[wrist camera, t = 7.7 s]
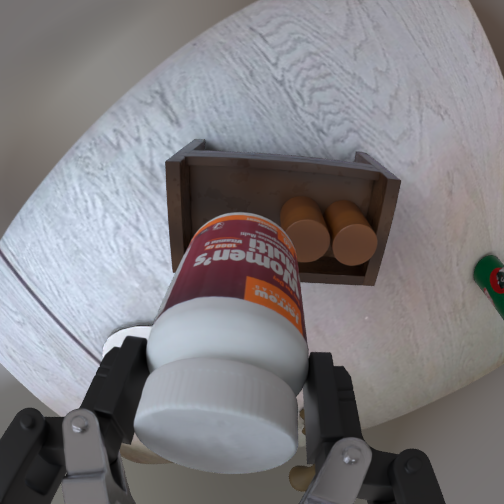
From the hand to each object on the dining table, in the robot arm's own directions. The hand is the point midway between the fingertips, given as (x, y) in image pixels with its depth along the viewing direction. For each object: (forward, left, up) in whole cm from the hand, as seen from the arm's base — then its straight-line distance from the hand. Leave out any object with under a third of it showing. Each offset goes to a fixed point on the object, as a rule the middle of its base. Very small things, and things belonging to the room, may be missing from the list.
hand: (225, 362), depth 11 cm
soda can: (+9, +35, -25) cm, 44 cm away
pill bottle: (0, 0, -8) cm, 8 cm away
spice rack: (+1, +3, -25) cm, 25 cm away
